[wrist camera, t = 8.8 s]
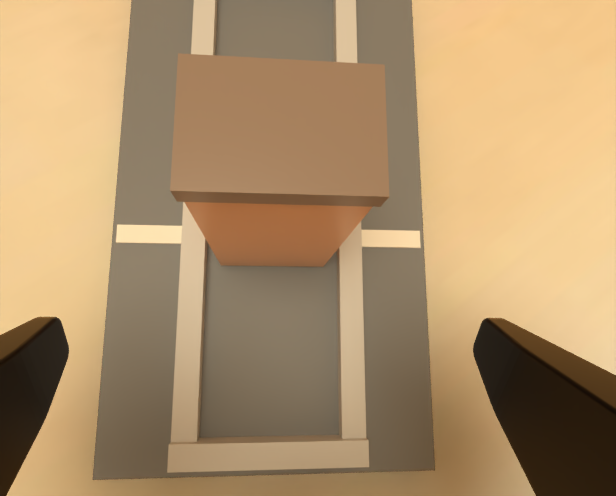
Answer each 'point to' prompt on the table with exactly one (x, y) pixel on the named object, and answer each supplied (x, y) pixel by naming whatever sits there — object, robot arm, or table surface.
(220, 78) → the fader tab
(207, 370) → the board
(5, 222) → the table surface
